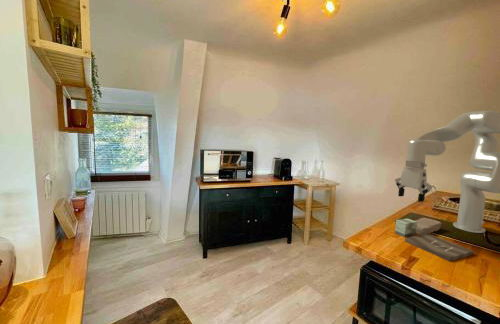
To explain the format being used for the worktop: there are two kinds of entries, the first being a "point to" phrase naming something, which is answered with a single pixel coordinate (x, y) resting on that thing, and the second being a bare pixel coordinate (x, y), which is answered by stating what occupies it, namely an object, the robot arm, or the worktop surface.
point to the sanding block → (405, 227)
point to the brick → (427, 226)
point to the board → (439, 247)
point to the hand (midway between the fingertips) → (410, 198)
